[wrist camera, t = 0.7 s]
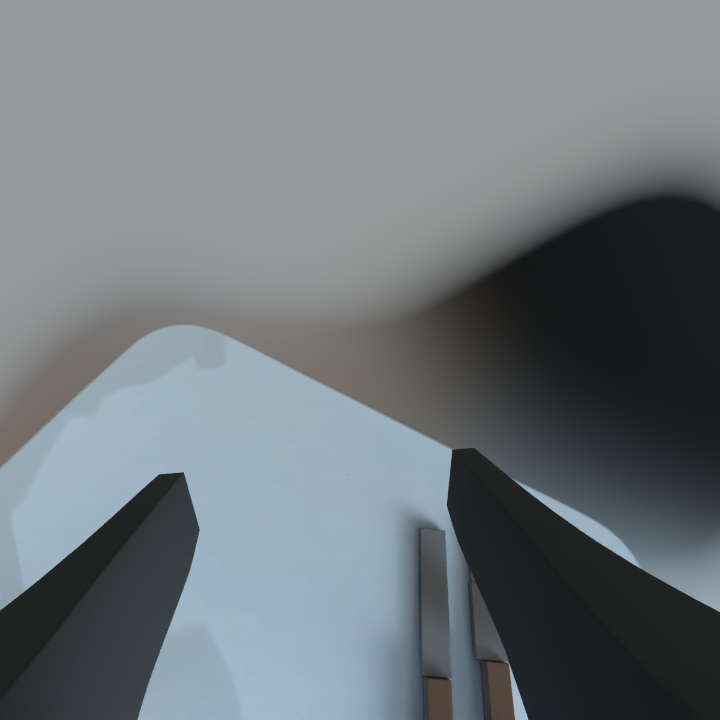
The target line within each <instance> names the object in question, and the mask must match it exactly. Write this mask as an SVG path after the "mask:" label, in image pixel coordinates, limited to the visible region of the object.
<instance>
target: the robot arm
mask: <svg viewBox="0 0 720 720" xmlns="http://www.w3.org/2000/svg"><path fill="white" fill-rule="evenodd" d="M447 508H448V511H449V514H450V518H451V521H452V524H453V528H454V531H455V534H456V537H457V540H458V543H459V545H460V547H461V550H462V552H463V554H464V557H465V559H466V561H467V564H468V566H469V568H470V571H471V573H472V575H473V577H474V580H475V582H476V584H477V586H478V589H479V591H480V593H481V595H482V598H483V600H484V602H485V604H486V607H487V609H488V611H489V613H490V616H491V618H492V620H493V623H494V625H495V627H496V629H497V632H498V634H499V637H500V639H501V642H502V644H503V647H504V649H505V652H506V655H507V658H508V661H509V664H510V667H511V669H512V672H513V675H514V678H515V681H516V684H517V687H518V690H519V693H520V695H521V698H522V701H523V704H524V707H525V710H526V713H527V716H528V720H720V612H718V611H716V610H715V609H713V608H711V607H709V606H707V605H705V604H703V603H701V602H699V601H697V600H695V599H694V598H692V597H690V596H688V595H686V594H685V593H683V592H681V591H679V590H677V589H676V588H674V587H672V586H670V585H668V584H667V583H665V582H663V581H661V580H659V579H658V578H656V577H654V576H652V575H650V574H649V573H647V572H645V571H644V570H642V569H640V568H638V567H637V566H635V565H633V564H632V563H630V562H628V561H627V560H625V559H624V558H622V557H620V556H619V555H617V554H616V553H614V552H613V551H611V550H609V549H608V548H606V547H605V546H603V545H601V544H600V543H598V542H597V541H595V540H594V539H592V538H591V537H589V536H588V535H586V534H585V533H583V532H582V531H580V530H579V529H577V528H576V527H575V526H573V525H572V524H570V523H569V522H568V521H566V520H565V519H563V518H562V517H560V516H559V515H558V514H556V513H555V512H554V511H552V510H551V509H550V508H548V507H547V506H546V505H544V504H543V503H542V502H540V501H539V500H538V499H536V498H535V497H534V496H532V495H531V494H530V493H529V492H527V491H526V490H525V489H524V488H522V487H521V486H520V485H519V484H517V483H516V482H515V481H514V480H512V479H511V478H510V477H509V476H507V475H506V474H505V473H504V472H503V471H501V470H500V469H499V468H498V467H497V466H495V465H494V464H493V463H492V462H491V461H489V460H488V459H487V458H486V457H484V456H483V455H482V454H481V453H479V452H478V451H477V450H476V449H474V448H468V449H456V450H452V459H451V469H450V479H449V489H448V499H447ZM199 530H200V529H199V526H198V522H197V518H196V515H195V511H194V508H193V504H192V501H191V497H190V493H189V490H188V486H187V483H186V479H185V475H184V472H183V473H171V474H159V475H158V476H157V477H156V478H155V479H154V480H152V481H151V482H150V483H149V484H148V485H147V486H146V487H145V488H143V489H142V490H141V491H140V492H139V493H138V494H137V495H136V496H135V497H134V498H132V499H131V500H130V501H129V502H128V503H127V504H126V505H125V506H124V507H123V508H122V509H120V510H119V511H118V512H117V513H116V514H115V515H114V516H113V517H112V518H110V519H109V520H108V521H107V522H106V523H105V524H104V525H103V526H102V527H100V528H99V529H98V530H97V531H96V532H95V533H94V534H93V535H92V536H90V537H89V538H88V539H87V540H86V541H85V542H84V543H82V544H81V545H80V546H79V547H78V548H77V549H75V550H74V551H73V552H72V553H71V554H69V555H68V556H67V557H66V558H65V559H63V560H62V561H61V562H60V563H59V564H57V565H56V566H55V567H54V568H53V569H52V570H50V571H49V572H48V573H47V574H46V575H44V576H43V577H42V578H41V579H40V580H38V581H37V582H36V583H35V584H34V585H32V586H31V587H30V588H29V589H27V590H26V591H25V592H24V593H22V594H21V595H20V596H18V597H17V598H16V599H15V600H13V601H12V602H11V603H9V604H8V605H7V606H6V607H4V608H3V609H2V610H0V720H137V719H138V716H139V712H140V709H141V705H142V702H143V698H144V695H145V692H146V689H147V686H148V683H149V680H150V677H151V674H152V671H153V669H154V666H155V663H156V661H157V658H158V655H159V653H160V650H161V647H162V644H163V642H164V639H165V636H166V634H167V631H168V628H169V626H170V623H171V620H172V618H173V615H174V612H175V610H176V607H177V604H178V601H179V599H180V596H181V593H182V590H183V588H184V585H185V582H186V579H187V577H188V574H189V571H190V567H191V564H192V560H193V556H194V552H195V547H196V543H197V539H198V534H199Z"/></svg>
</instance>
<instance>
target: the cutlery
mask: <svg viewBox="0 0 720 720" xmlns="http://www.w3.org/2000/svg"><path fill="white" fill-rule="evenodd" d="M469 580H470V583H469V584H468V585H469V599H470V613H471V627H472V641H473V656H474V659H477V660H480V667H481V679H482V692H483V705H484V718H485V720H515V715H514V706H513V697H512V688H511V679H510V670H509V664H508V663H509V661H508V658H507V655H506V652H505V649H504V647H503V644H502V642H501V639H500V637H499V634H498V632H497V629H496V627H495V625H494V623H493V620H492V618H491V616H490V613H489V611H488V609H487V607H486V604H485V602H484V600H483V598H482V595H481V593H480V591H479V589H478V586H477V584H476V582H475V580H474V577H473V575H472V573H471V571H470V568H469ZM419 609H420V675H421V676H423V716H424V720H453V711H452V687H451V680H449V679H451V655H450V631H449V608H448V585H447V561H446V538H445V531H443V530H434V529H426V528H420V529H419ZM505 662H507V663H505Z"/></svg>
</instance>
